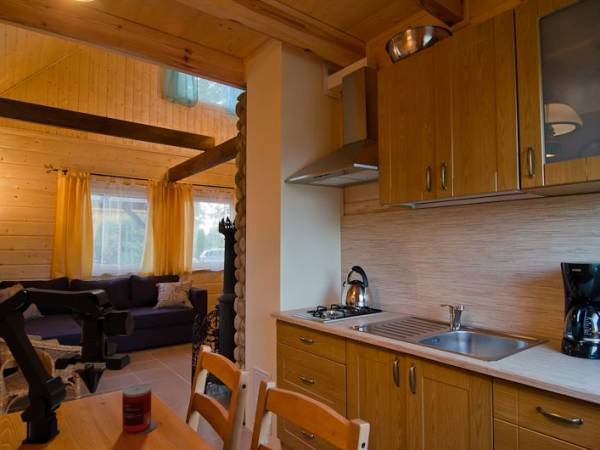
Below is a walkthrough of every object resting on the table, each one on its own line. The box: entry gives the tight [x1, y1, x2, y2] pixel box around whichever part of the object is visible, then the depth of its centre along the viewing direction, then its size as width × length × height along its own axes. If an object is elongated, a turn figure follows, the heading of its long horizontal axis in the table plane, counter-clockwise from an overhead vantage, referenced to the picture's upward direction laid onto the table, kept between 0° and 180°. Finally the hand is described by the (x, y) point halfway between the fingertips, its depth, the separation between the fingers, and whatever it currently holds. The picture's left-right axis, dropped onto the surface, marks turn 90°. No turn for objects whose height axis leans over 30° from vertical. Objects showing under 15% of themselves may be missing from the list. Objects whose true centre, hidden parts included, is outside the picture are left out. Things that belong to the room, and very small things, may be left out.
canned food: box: [121, 383, 152, 435], centre depth 110 cm, size 8×8×11 cm
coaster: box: [134, 420, 158, 435], centre depth 110 cm, size 8×8×1 cm
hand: (92, 393), depth 105 cm, fingers closed
